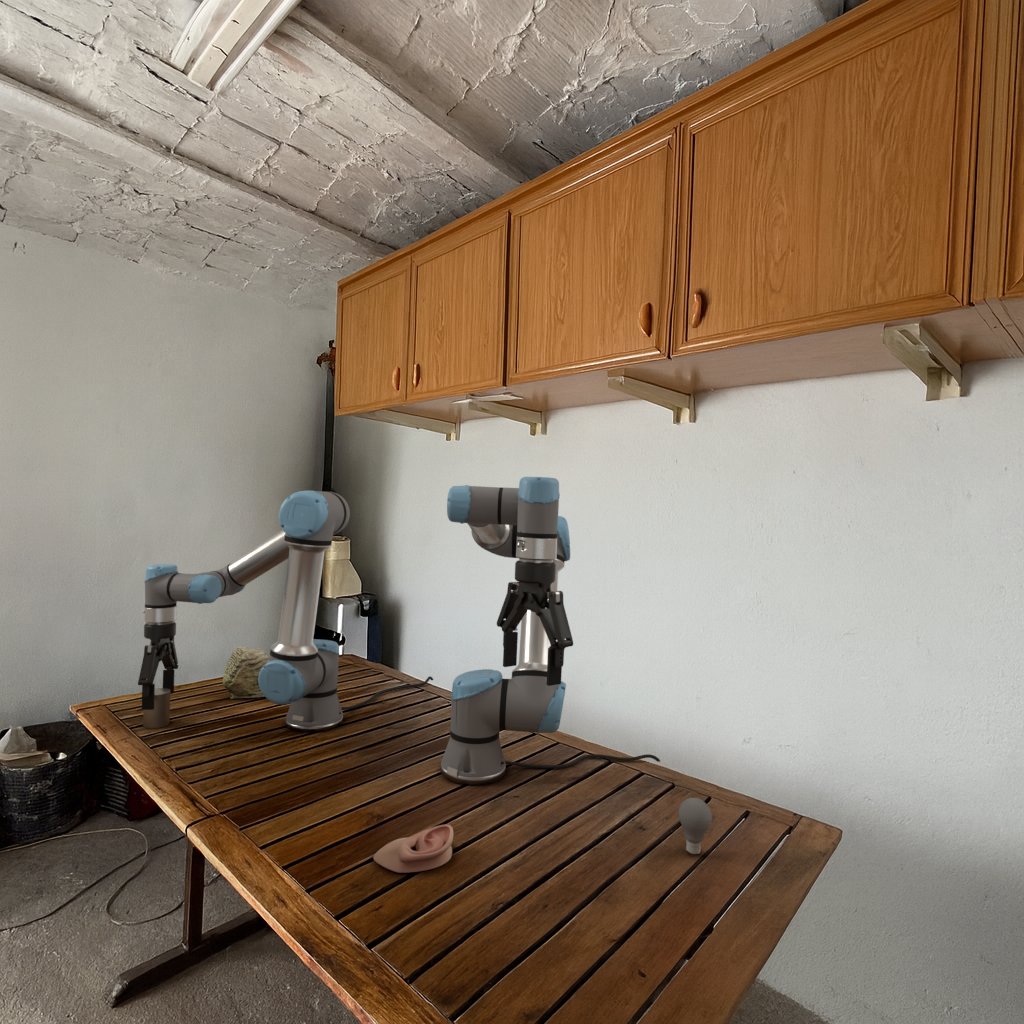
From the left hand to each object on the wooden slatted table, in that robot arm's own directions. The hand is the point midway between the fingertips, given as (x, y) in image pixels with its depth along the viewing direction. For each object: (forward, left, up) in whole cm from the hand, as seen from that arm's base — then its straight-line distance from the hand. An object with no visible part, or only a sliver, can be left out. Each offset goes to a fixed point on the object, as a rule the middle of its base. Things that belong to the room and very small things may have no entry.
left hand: (158, 701), depth 170 cm
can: (0, 0, -6) cm, 6 cm away
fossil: (-31, -6, -6) cm, 32 cm away
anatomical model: (-4, +96, -6) cm, 97 cm away
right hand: (-20, +109, +26) cm, 114 cm away
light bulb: (-40, +133, -6) cm, 140 cm away
